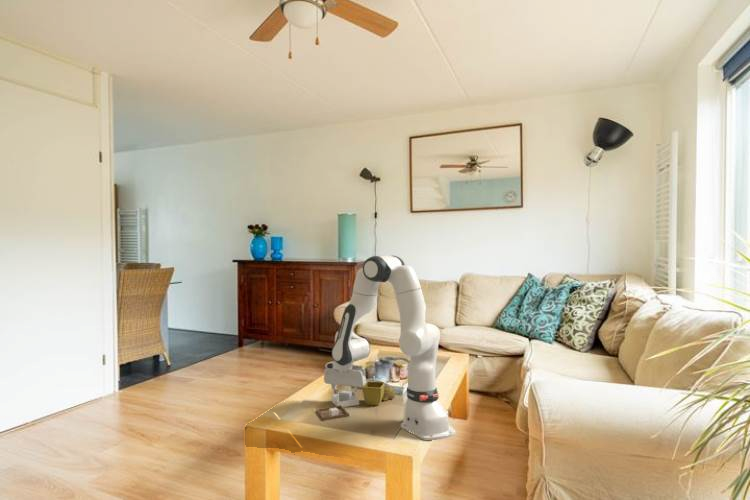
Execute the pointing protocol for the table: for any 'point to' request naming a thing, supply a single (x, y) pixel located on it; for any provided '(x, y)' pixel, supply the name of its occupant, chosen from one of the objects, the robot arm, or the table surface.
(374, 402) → the flower pot
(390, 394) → the seashell
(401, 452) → the table surface
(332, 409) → the small pebble
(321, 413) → the gravel tray
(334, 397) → the grey bin
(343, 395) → the pebble
